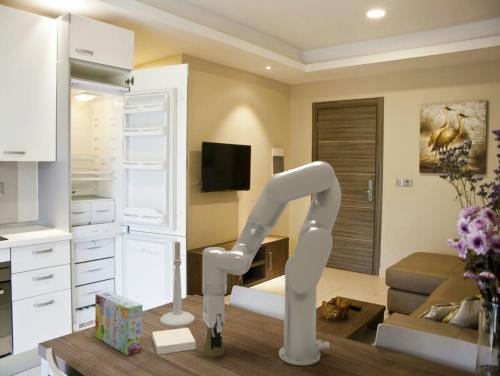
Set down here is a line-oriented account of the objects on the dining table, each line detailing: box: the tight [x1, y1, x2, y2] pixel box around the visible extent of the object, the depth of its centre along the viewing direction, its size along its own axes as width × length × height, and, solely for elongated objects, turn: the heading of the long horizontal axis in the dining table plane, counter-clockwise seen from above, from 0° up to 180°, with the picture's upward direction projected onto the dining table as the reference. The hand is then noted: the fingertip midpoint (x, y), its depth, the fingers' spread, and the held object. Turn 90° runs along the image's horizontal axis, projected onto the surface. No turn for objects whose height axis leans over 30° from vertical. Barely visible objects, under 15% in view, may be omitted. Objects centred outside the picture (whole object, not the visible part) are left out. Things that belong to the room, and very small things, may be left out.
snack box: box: [94, 290, 143, 357], centre depth 137 cm, size 21×6×15 cm, turn 47°
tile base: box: [151, 327, 197, 355], centre depth 137 cm, size 12×12×2 cm
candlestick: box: [159, 240, 196, 327], centre depth 158 cm, size 13×13×30 cm
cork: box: [203, 321, 225, 358], centre depth 131 cm, size 6×6×11 cm
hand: (214, 345), depth 131 cm, fingers closed on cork, 3 cm apart
